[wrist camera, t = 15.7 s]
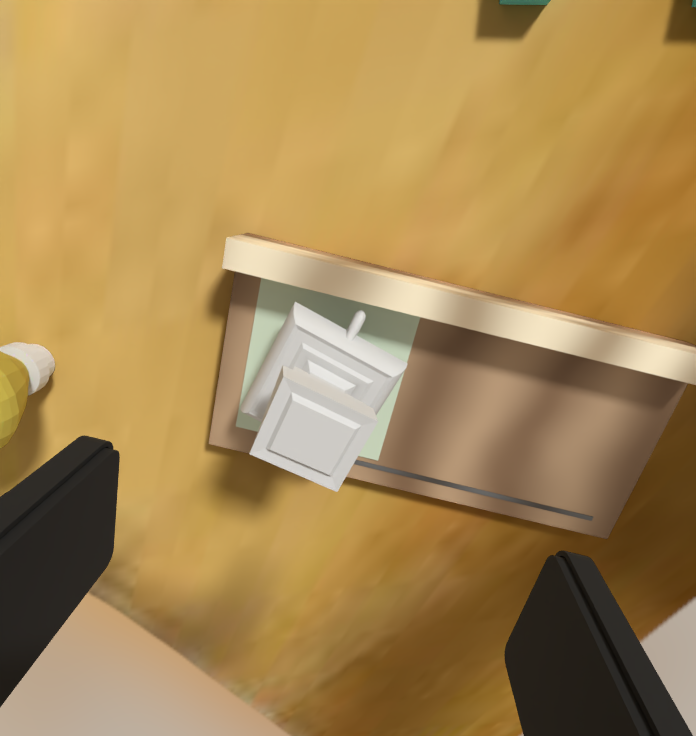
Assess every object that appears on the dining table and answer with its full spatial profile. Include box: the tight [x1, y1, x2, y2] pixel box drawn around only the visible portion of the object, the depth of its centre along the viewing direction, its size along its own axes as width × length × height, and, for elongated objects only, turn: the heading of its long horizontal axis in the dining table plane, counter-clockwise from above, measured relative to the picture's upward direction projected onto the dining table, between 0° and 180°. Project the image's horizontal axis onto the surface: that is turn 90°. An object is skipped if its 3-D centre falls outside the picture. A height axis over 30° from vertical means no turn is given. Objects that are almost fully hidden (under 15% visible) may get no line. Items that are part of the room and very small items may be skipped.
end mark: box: [236, 278, 420, 461], centre depth 27 cm, size 9×10×1 cm
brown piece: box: [209, 233, 696, 539], centre depth 27 cm, size 26×13×4 cm, turn 77°
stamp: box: [240, 302, 408, 492], centre depth 23 cm, size 9×7×8 cm
